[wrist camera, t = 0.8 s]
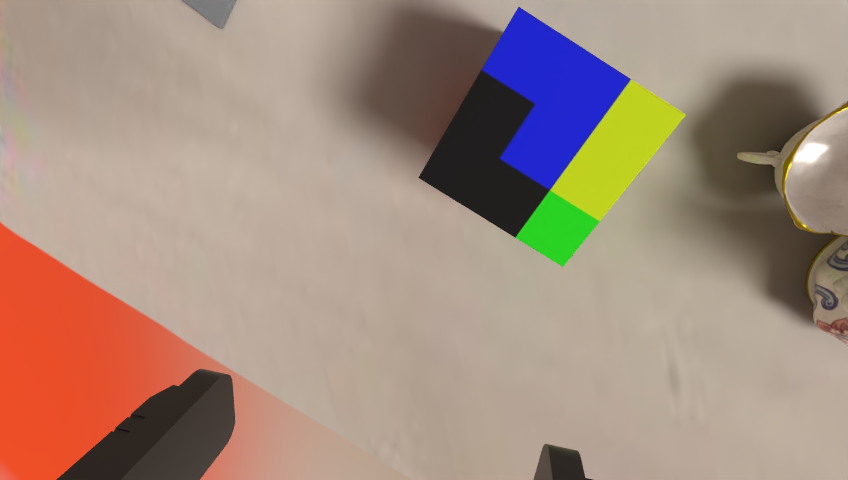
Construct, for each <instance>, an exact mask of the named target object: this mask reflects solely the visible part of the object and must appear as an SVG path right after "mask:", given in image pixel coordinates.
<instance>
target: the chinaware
mask: <svg viewBox="0 0 848 480" xmlns="http://www.w3.org/2000/svg"><path fill="white" fill-rule="evenodd" d="M737 158H738V159H740V160H742V161H746V162H750V163H755V164H771V165H772V166H773V167H775V183H776V187H777V189H778V191H779V193H780V195H781V197H782V198H783V199H784V200H785V203H786V206H787V209H788V212H789V214H790V216H791V218H792V219H793V222H794V224H795V226H796V227H798V228H799V229H801V230H806V231H809V232H811V233H815V234H830V233H831V232H832V233H833V234H834V235H839V236H837V237H836V238H834V239H833V240H831V241H830V242H829V243H828V244H827V245H825V246H824V247H823V248H822V249H821V251H820V252H819V253H818V254H817V255H816V257H815V258H814V260H813V261H812V263H811V265H810V267H809V270H808V273H807V277H806V291H807V295H808V298H809V300H810V302H811V303H812V305H813V306H814V308H813V319H814V322H815V324H816V325H817V326H818V328H820V329H821V330H823V331H824V332H826V333H828V334H831V335H832V336H834V337H836V338H837V339H839V340H841V341H842V342H843V343H845V344H846V345H848V101H847V102H845V103H843V104H842V105H841V106H840V107H839V108H837V109H836V110H834V111H832V112H831V113H829V114H828V115H827V116H825V117H823V118H821V119H819V120H817V121H814V122H813V123H811V124H809V125H807V126H806V127H804V128H803V129H801V130H800V131H799V132H797V133H796V134H795V135H794V136H793V137H792V138H791V139H790V140H789V141H788V142H787V143H785V144H784V147H783V149H782V151H781V152H780V153H779V152H777V151H768V152H767V153H754V152H739V153H738V155H737Z"/></svg>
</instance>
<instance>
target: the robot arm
mask: <svg viewBox="0 0 848 480" xmlns="http://www.w3.org/2000/svg"><path fill="white" fill-rule="evenodd" d="M234 424H235V411H234V397H233V385H232V378H231V376H230V375H228V374H223V373H219V372H214V371H209V370H205V369H199V370H197V371H195V372H194V373H193V374H192V375H191V376H190V377H189V378H187V379H186V380H185V381H184V382H183V383H182V384H181V385H180V386H175V385H173V386H171V387H169V388H167V389H165V390H163V391H161V392H159V393H157V394H156V395H154V396H152V397H150V398H149V399H148V400H147V401H145V402H144V403H143V404H142V405H141V406H140V407H139V408H137V409H136V410H135V411H134V412H133V413H132V414H131V416H130V417H127V418H126V419H125V420H124V421H123V422H122V423H121V424H119V425H118V426H117V427H116V429H115V431H114V432H112V431H111V432H110V433H109V434H108V435H107V436H106V437H105V438H103V440H101V441H100V442H99V443H98V444H97V445H96V446H95V447H93V448H92V449H91V450H90V451H89V452H87V453H86V454H85V455H84V456H83V457H82V458H81V459H80V460H79V461H77V462H76V463H75V464H74V465H73V466H72V467H70V468H69V469H68V470H67V471H66V472H65V473H64V474H63V475H61V476H60V477H59V478H58V479H57V480H200V479H201V477H202V476H203V475H204V473H205V472H206V471H207V469H208V468H209V467H210V466H211V464H212V463H213V461H214V460H215V459H216V458H217V456H218V455H219V454H220V452H221V451H222V450H223V449H224V447H225V446H226V444H227V443H228V441H229V439H230V437H231V435H232V432H233V429H234ZM534 480H592V479H588V478H585V474H584V470H583V466H582V461H581V457H580V454H579V452H578V451H576V450H571V449H567V448H562V447H557V446H553V445H548V444H545V445H544V446H543V449H542V452H541V455H540V459H539V463H538V466H537V470H536V473H535V477H534Z"/></svg>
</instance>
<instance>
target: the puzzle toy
mask: <svg viewBox="0 0 848 480" xmlns="http://www.w3.org/2000/svg"><path fill="white" fill-rule="evenodd" d="M684 117H685V114H684V113H682V112H681V111H679V110H678V109H676V108H675V107H673V106H672V105H670V104H668V103H667V102H665V101H664V100H662V99H661V98H659V97H658V96H656V95H654V94H653V93H651V92H650V91H648V90H647V89H645V88H644V87H642V86H641V85H639V84H637V83H636V82H634V81H633V80H631V79H630V78H628V77H627V76H625V75H623V74H622V73H620V72H619V71H617V70H616V69H614V68H613V67H611V66H610V65H608V64H606V63H605V62H603V61H602V60H600V59H599V58H597V57H596V56H594V55H593V54H591V53H589V52H588V51H586V50H585V49H583V48H582V47H580V46H579V45H577V44H575V43H574V42H572V41H571V40H569V39H568V38H566V37H565V36H563V35H562V34H560V33H558V32H557V31H555V30H554V29H552V28H551V27H549V26H548V25H546V24H545V23H543V22H541V21H540V20H538V19H537V18H535V17H534V16H532V15H531V14H529V13H527V12H526V11H524V10H523V9H521V8H520V7H518V9H517V11H516V12H515V14H514V16H513V17H512V19H511V21H510V22H509V24H508V26H507V28H506V29H505V31H504V33H503V34H502V36H501V38H500V40H499V41H498V43H497V45H496V46H495V48H494V50H493V51H492V53H491V55H490V57H489V58H488V60H487V62H486V63H485V65H484V67H483V69H482V70H481V72H480V74H479V75H478V77H477V79H476V80H475V82H474V84H473V86H472V87H471V89H470V91H469V92H468V94H467V96H466V97H465V99H464V101H463V103H462V104H461V106H460V108H459V109H458V111H457V113H456V115H455V116H454V118H453V120H452V121H451V123H450V125H449V126H448V128H447V130H446V132H445V133H444V135H443V137H442V138H441V140H440V142H439V144H438V145H437V147H436V149H435V150H434V152H433V154H432V155H431V157H430V159H429V161H428V162H427V164H426V166H425V167H424V169H423V171H422V173H421V174H420V176H419V178H420V179H421V180H423V181H425V182H426V183H428V184H429V185H431V186H433V187H434V188H436V189H438V190H439V191H441V192H442V193H444V194H446V195H447V196H449V197H451V198H452V199H454V200H455V201H457V202H459V203H460V204H462V205H463V206H465V207H467V208H468V209H470V210H472V211H473V212H475V213H476V214H478V215H480V216H481V217H483V218H485V219H486V220H488V221H489V222H491V223H493V224H494V225H496V226H498V227H499V228H501V229H502V230H504V231H506V232H507V233H509V234H510V235H512V236H514V237H515V238H517V239H519V240H520V241H522V242H523V243H525V244H527V245H528V246H530V247H532V248H533V249H535V250H536V251H538V252H540V253H541V254H543V255H544V256H546V257H548V258H549V259H551V260H553V261H554V262H556V263H557V264H559V265H561V266H562V267H563V266H564V265H565V264H566V262H567V261H568V260H569V259H570V258H571V256H572V255H573V254H574V253H575V251H576V250H577V249H578V248H579V246H580V245H581V244H582V243H583V241H584V240H585V239H586V238H587V237H588V235H589V234H590V233H591V232H592V230H593V229H594V228H595V227H596V225H597V224H598V223H599V222H600V220H601V219H602V218H603V217H604V216H605V214H606V213H607V212H608V211H609V209H610V208H611V207H612V206H613V204H614V203H615V202H616V201H617V199H618V198H619V197H620V196H621V194H622V193H623V192H624V191H625V190H626V188H627V187H628V186H629V185H630V183H631V182H632V181H633V180H634V178H635V177H636V176H637V175H638V173H639V172H640V171H641V170H642V169H643V167H644V166H645V165H646V164H647V162H648V161H649V160H650V159H651V157H652V156H653V155H654V154H655V152H656V151H657V150H658V149H659V148H660V146H661V145H662V144H663V143H664V141H665V140H666V139H667V138H668V136H669V135H670V134H671V133H672V131H673V130H674V129H675V128H676V127H677V125H678V124H679V123H680V122H681V120H682V119H683V118H684Z"/></svg>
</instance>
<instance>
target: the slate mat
mask: <svg viewBox="0 0 848 480" xmlns="http://www.w3.org/2000/svg"><path fill="white" fill-rule="evenodd" d="M183 1H184V2H186V3H187V4H188V5H189V6H191V7H192V8H193V9H195V10H196V11H197V12H199V13H200V14H201V15H203V16H204V17H205V18H206V19H208V20H209V21H210V22H212V23H213V24H214V25H216V26H217V27H218V28H222V29H223V28H224V26H225V24H226V21H227V19H228V17H229V15H230V13H231V10H232V8H233V6H234V4H235V2H236V0H183Z"/></svg>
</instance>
